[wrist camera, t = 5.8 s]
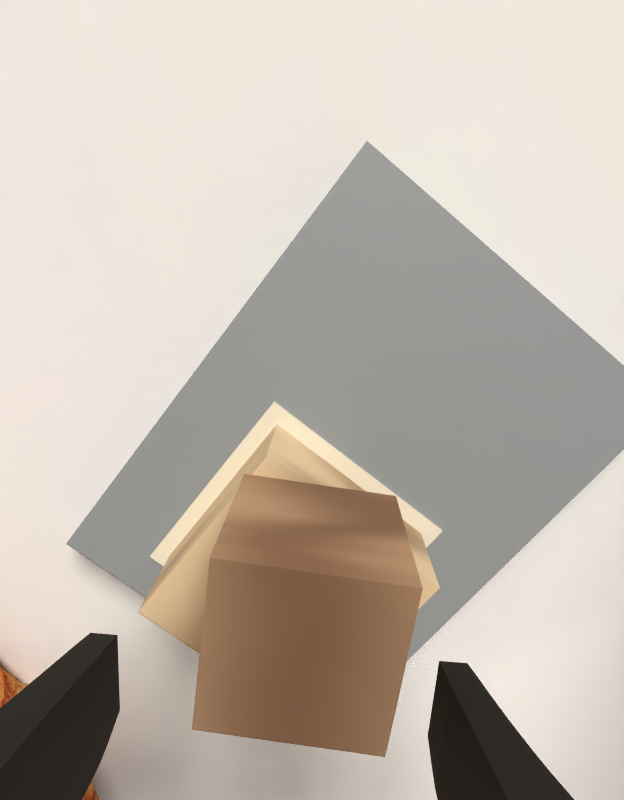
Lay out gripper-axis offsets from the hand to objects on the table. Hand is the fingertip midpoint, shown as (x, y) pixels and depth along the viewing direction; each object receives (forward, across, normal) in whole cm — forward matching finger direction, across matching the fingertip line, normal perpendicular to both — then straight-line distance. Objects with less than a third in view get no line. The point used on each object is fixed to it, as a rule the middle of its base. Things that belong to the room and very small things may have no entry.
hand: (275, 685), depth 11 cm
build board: (+7, -2, -2) cm, 8 cm away
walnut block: (+3, 0, -2) cm, 3 cm away
